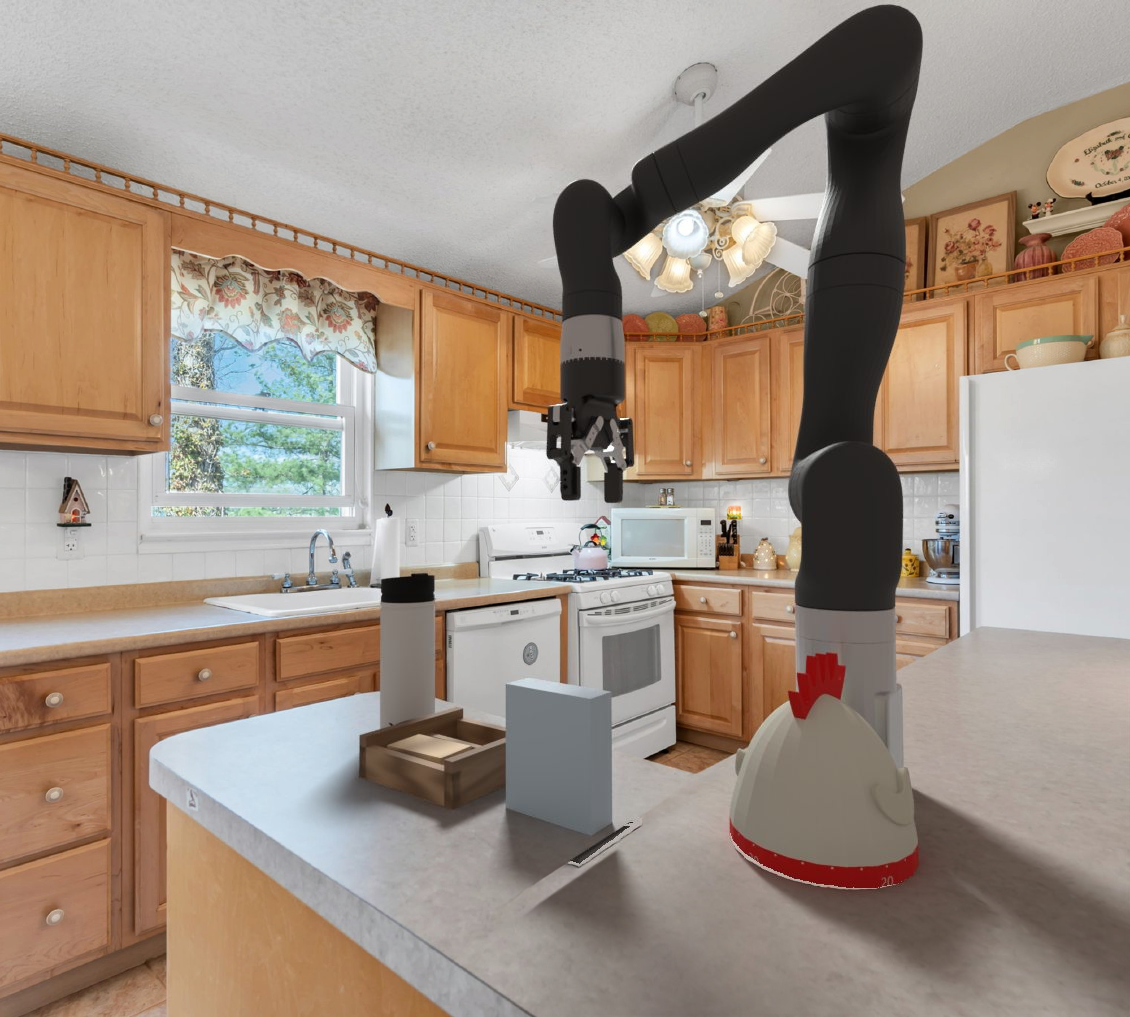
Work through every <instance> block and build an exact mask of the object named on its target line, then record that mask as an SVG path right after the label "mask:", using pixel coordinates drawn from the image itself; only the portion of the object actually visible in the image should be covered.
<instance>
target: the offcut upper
mask: <svg viewBox="0 0 1130 1017" xmlns="http://www.w3.org/2000/svg"><path fill="white" fill-rule="evenodd" d="M387 749H390V750H394V751H397V752H400V753H404V754H407V755H410V756H414V757H417V758H421V759H424V760H427V761H431V762H434V763H437V764H441V765H444V760H445V759H448V758H450V757H453V756H456V755H459V754H461V753H464V752H467V751H470V750H471V746H470V745H465V744H461V743H456V742H452V741H447V740H443V739H438V738H434V737H429V736H425V735H421V734H418V735H415V736H412V737H409V738H406V739H404V740H401V741H398V742H395V743H392V744H389V745H387Z"/></svg>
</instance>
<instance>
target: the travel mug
mask: <svg viewBox="0 0 1130 1017" xmlns="http://www.w3.org/2000/svg"><path fill="white" fill-rule="evenodd" d="M435 579H436V578H435V575H434V574H429V573H428V572H420V573H419V572H418V573H411V574H410V575H408V576H406V575H405V576H398V577H397V576H395V577H386V578H381V579H380V593H381V596H380V602H379V603H380V604H379V605H380V609H379V611H380V612H379V613H380V614H379V615H380V618H379V621H380V622H379V623H380V624H379V625H380V626H379V627H380V631H379V634H380V636H379V637H380V638H379V639H380V640H379V641H380V642H379V644H380V645H379V648H380V650H379V651H380V652H379V657H380V658H379V665H380V666H379V729H382V728H386V727H389V726H393V725H396V724H400V723H403V722H407V721H410V720H414V719H417V718H421V717H424V716H428V715H431V714H435V713H436V606H435V604H436V599H435V596H436V595H435V587H436V586H435V585H436V584H435Z"/></svg>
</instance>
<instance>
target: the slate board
mask: <svg viewBox="0 0 1130 1017" xmlns="http://www.w3.org/2000/svg"><path fill="white" fill-rule="evenodd" d="M612 698H613V696H612V691H608V690H603V689H597V688H592V687H587V686H586V687H585V686H581V685H580V686H579V685H575V684H568V683H562V682H556V681H549V680H544V679H537V678H533V677H525V678H522V679H517V680H513V681H511V682H507V683H505V727H506V786H505V808H506V809H507V810H511V811H514V812H517V813H520V814H523V815H525V816H526V815H527V816H529V817H531V818H532V817H533V818H535V819H539V820H542V821H544V822H548V823H550V824H554V825H557V826H558V827H559V826H560V827H563V828H565V829H570V830H572V831H574V832H578V833H581V834H583V835H587V836H590V837H591V836H593V835H595V834H597V833H598V832H601V831H602V830H603V829H605V828H606V827H608V826H610V825H611V824H612V823H613V745H612V744H613V743H612V742H613V732H612V731H613V730H612V728H613V727H612V726H613V725H612V724H613V722H612V721H613V720H612V718H613V715H612V711H613V710H612V709H613V708H612V705H613V704H612Z"/></svg>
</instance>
